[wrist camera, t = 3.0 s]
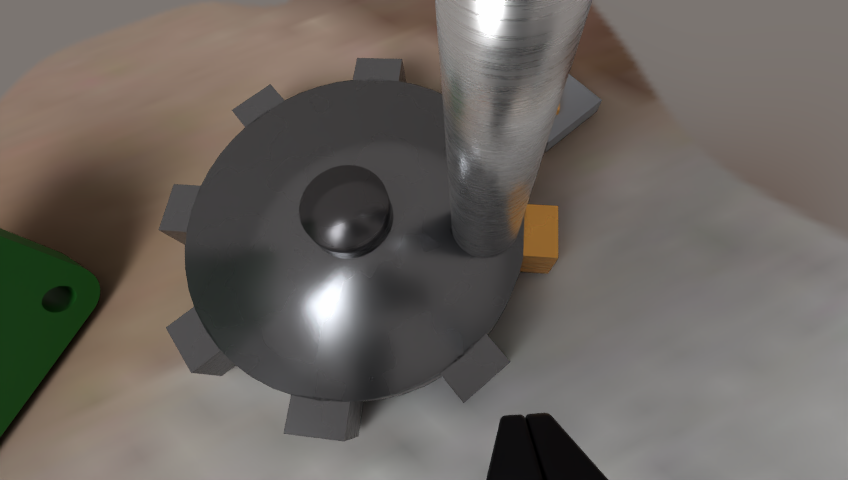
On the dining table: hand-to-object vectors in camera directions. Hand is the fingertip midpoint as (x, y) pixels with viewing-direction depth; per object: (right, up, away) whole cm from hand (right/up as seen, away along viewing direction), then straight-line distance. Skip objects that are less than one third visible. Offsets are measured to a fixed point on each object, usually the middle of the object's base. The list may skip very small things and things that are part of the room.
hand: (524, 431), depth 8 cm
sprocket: (-4, +3, +11) cm, 12 cm away
